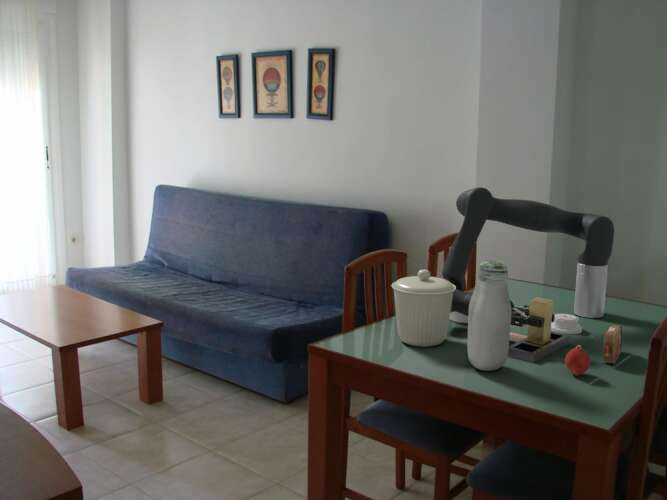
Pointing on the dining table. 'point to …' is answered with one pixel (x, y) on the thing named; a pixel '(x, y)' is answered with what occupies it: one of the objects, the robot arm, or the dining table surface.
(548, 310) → the brass block
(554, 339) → the compartment tray
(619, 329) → the tin
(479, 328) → the glass bottle
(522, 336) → the tile
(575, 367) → the pomegranate
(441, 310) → the canister
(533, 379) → the dining table surface
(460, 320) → the ramekin
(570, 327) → the mechanical component
